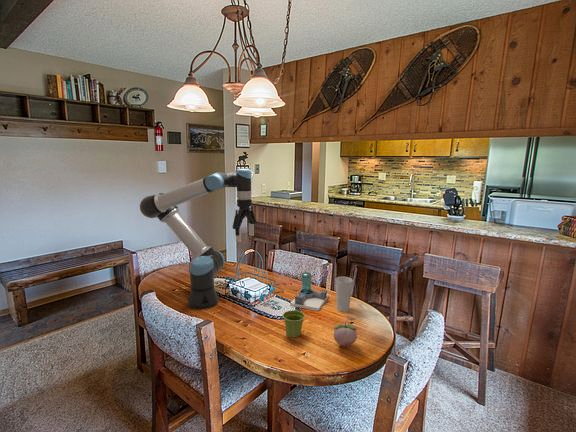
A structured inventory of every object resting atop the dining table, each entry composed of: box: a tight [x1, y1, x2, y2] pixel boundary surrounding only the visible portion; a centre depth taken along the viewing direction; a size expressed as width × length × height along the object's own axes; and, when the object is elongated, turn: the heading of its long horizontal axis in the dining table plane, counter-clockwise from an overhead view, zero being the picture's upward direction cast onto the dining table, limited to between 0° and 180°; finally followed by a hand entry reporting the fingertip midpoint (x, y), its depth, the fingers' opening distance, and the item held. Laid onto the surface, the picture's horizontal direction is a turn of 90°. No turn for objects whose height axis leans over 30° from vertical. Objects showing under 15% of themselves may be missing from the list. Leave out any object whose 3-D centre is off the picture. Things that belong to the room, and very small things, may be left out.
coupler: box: [301, 271, 312, 294], centre depth 172 cm, size 5×5×12 cm
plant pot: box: [282, 309, 306, 338], centre depth 137 cm, size 9×9×9 cm
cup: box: [334, 275, 354, 313], centre depth 159 cm, size 8×8×16 cm
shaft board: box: [289, 288, 330, 312], centre depth 169 cm, size 18×15×5 cm
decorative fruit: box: [332, 322, 358, 347], centre depth 129 cm, size 9×8×10 cm
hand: (245, 238), depth 172 cm, fingers open, 13 cm apart
